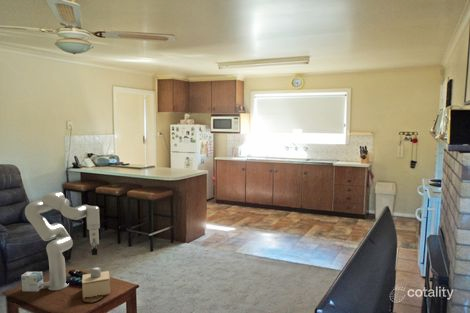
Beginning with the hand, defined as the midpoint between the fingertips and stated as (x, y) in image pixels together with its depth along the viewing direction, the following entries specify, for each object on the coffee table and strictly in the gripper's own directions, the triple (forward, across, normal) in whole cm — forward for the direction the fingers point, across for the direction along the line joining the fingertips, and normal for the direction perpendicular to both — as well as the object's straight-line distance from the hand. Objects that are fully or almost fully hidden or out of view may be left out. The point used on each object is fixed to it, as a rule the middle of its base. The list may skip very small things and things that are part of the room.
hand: (94, 252), depth 229 cm
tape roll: (+16, 0, 0) cm, 16 cm away
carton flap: (+17, 0, 0) cm, 17 cm away
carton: (+26, 0, 0) cm, 26 cm away
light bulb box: (+26, +20, +38) cm, 51 cm away
